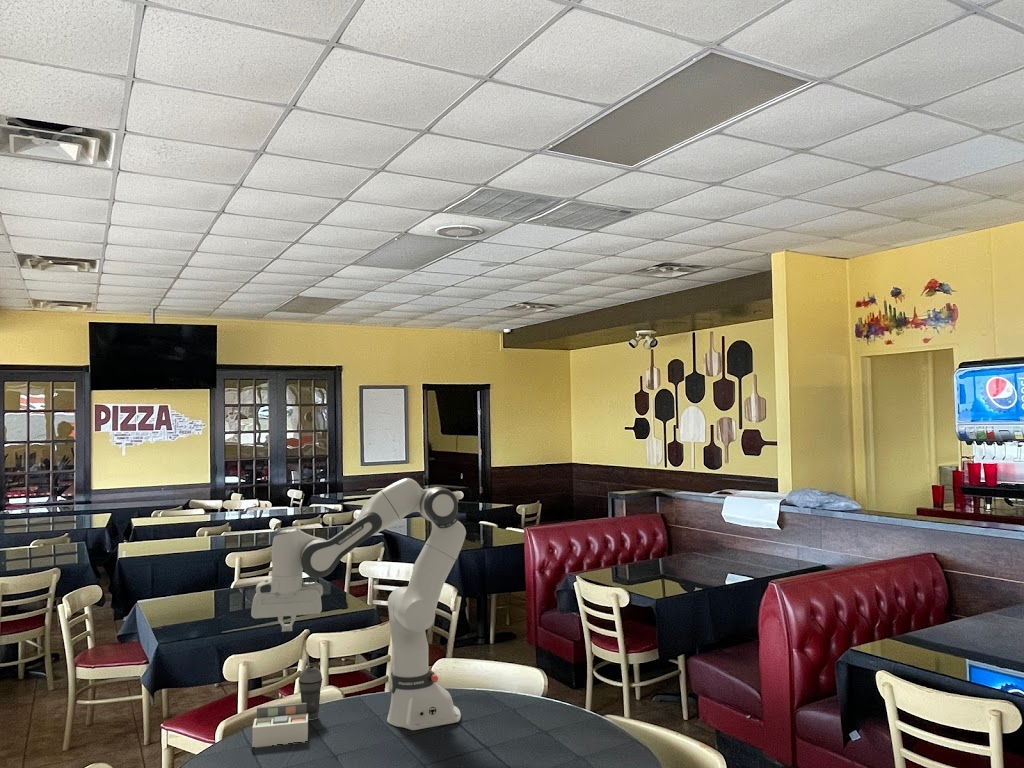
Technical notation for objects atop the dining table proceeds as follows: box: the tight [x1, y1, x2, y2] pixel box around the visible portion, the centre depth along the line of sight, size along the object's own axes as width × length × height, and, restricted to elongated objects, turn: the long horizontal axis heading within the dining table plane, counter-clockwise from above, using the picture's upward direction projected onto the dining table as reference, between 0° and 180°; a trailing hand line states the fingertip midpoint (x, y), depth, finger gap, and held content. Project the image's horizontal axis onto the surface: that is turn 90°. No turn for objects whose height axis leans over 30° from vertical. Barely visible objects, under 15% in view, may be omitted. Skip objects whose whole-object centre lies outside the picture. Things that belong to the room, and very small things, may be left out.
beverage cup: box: [298, 651, 323, 720], centre depth 236 cm, size 7×7×20 cm
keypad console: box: [251, 702, 309, 748], centre depth 220 cm, size 15×9×8 cm, turn 104°
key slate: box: [274, 716, 288, 724], centre depth 219 cm, size 4×4×2 cm
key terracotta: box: [292, 718, 305, 722], centre depth 220 cm, size 4×4×2 cm
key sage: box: [257, 722, 270, 725], centre depth 218 cm, size 4×4×2 cm
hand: (287, 630), depth 226 cm, fingers closed
